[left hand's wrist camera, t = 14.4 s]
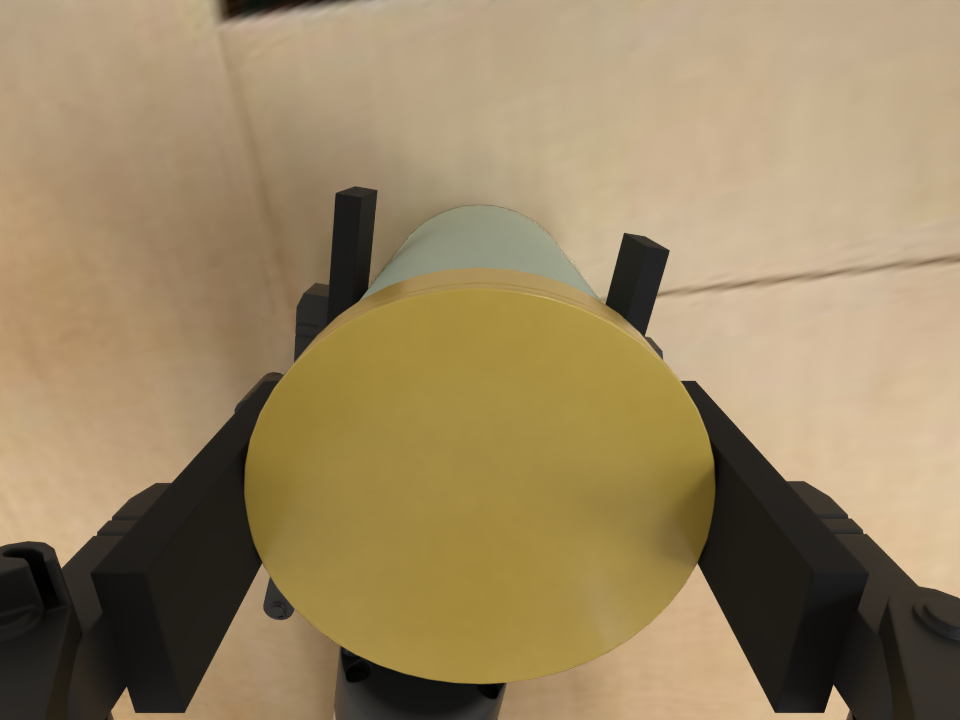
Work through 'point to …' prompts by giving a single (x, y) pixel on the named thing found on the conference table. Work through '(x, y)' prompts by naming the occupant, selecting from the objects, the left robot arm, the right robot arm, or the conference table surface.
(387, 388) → the lid
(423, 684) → the right robot arm
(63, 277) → the conference table surface
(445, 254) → the jar
